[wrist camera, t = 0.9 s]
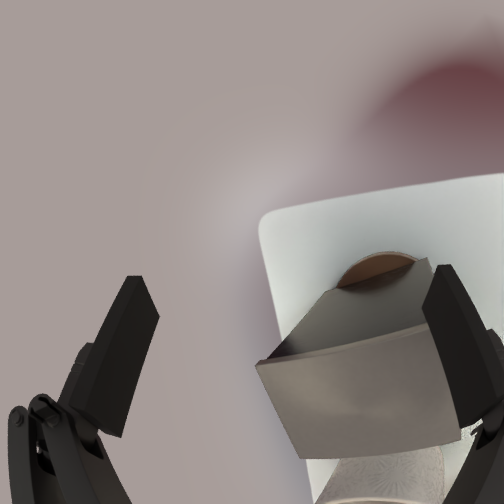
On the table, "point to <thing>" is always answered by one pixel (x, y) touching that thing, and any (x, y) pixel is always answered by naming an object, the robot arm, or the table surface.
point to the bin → (363, 372)
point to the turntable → (375, 266)
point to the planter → (388, 479)
